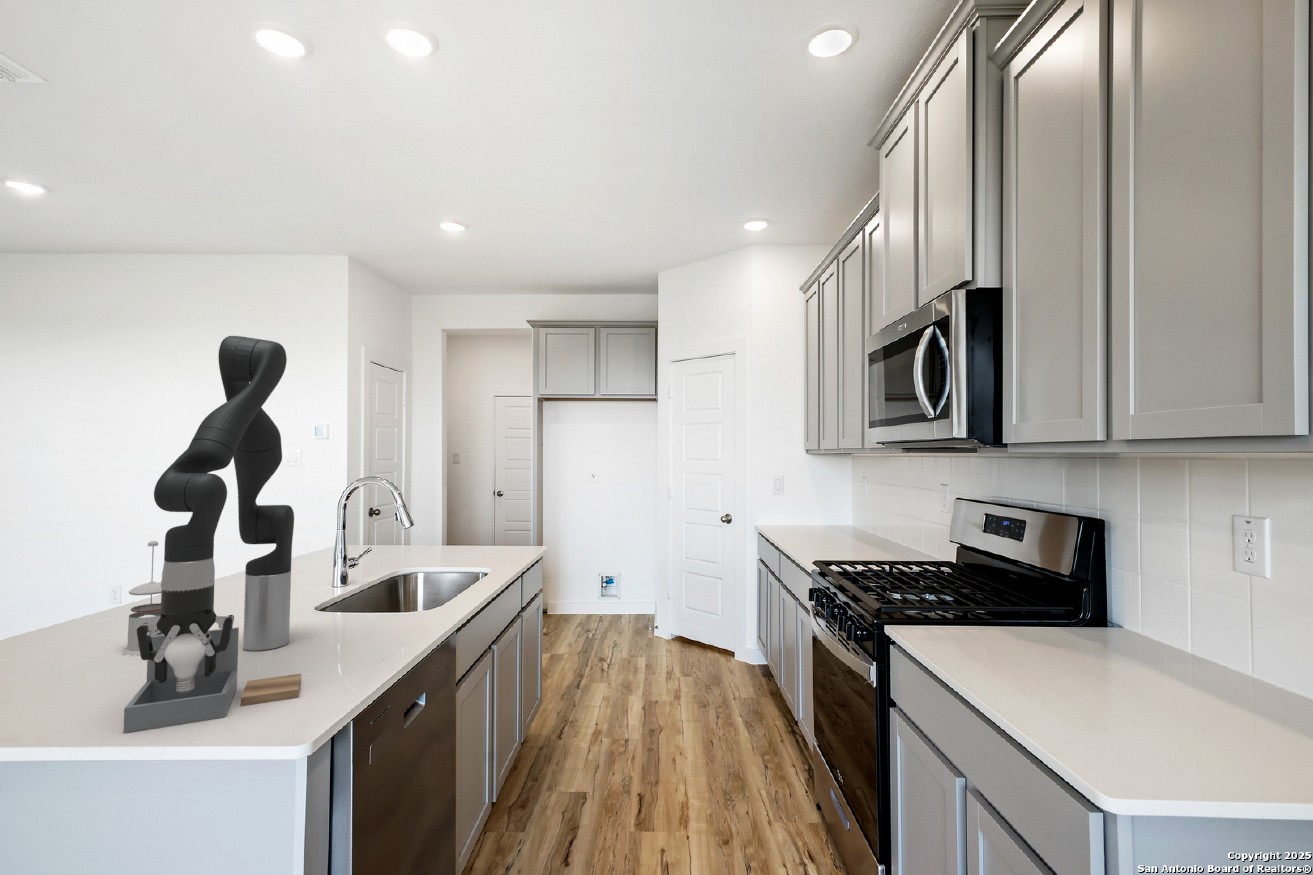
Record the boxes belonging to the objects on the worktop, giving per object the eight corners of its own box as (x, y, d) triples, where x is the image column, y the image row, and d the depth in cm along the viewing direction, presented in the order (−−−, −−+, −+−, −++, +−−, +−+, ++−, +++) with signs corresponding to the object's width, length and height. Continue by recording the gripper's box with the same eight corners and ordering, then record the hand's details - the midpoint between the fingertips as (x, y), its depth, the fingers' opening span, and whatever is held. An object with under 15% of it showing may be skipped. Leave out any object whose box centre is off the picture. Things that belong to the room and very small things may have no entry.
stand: (247, 688, 117) (247, 680, 117) (300, 681, 121) (301, 673, 121) (240, 705, 109) (240, 697, 109) (298, 697, 113) (298, 689, 113)
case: (146, 702, 110) (149, 636, 111) (236, 689, 116) (238, 627, 117) (123, 733, 98) (126, 658, 98) (225, 717, 104) (227, 647, 105)
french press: (111, 652, 137) (115, 542, 138) (168, 638, 148) (172, 536, 149) (137, 658, 133) (141, 545, 134) (194, 643, 144) (197, 538, 145)
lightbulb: (179, 685, 111) (181, 625, 111) (215, 685, 111) (217, 625, 111) (152, 700, 104) (155, 636, 104) (191, 699, 105) (193, 636, 105)
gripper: (240, 576, 115) (237, 665, 114) (143, 583, 108) (140, 677, 108) (233, 585, 108) (230, 679, 108) (130, 592, 101) (127, 693, 101)
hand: (185, 677), depth 108 cm, fingers closed on lightbulb, 6 cm apart
